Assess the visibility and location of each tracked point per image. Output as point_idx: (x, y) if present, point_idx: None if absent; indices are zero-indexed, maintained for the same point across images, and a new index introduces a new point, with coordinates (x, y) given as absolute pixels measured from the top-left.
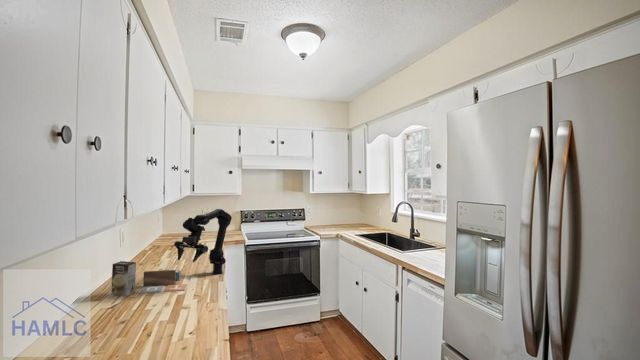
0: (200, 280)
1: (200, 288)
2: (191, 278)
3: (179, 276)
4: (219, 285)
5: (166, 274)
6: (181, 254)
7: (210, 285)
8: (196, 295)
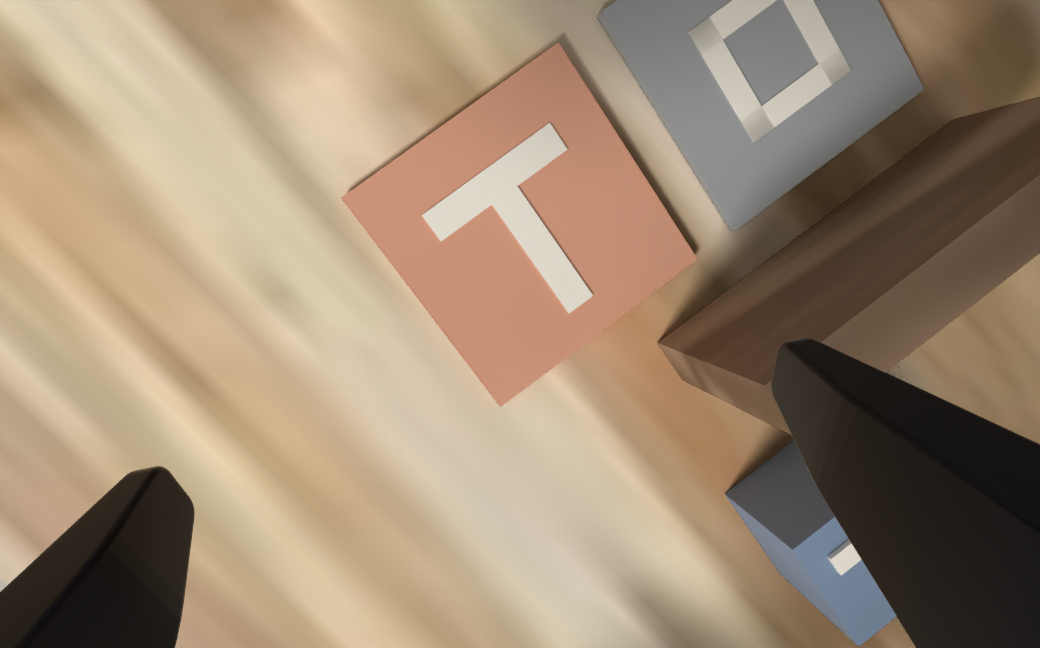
0: (473, 628)
1: (202, 360)
2: (647, 636)
3: (762, 530)
4: None
5: (842, 286)
6: (945, 634)
7: None
8: (5, 84)
